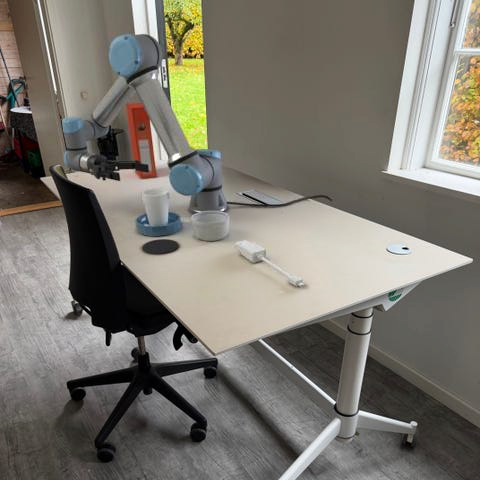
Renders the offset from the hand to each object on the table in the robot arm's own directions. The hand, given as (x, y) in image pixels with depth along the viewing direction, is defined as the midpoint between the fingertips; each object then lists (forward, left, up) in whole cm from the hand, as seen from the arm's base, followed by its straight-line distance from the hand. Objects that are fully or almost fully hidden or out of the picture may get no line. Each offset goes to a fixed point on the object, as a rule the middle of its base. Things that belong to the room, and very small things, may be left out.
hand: (133, 172), depth 166 cm
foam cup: (-7, +6, -19) cm, 21 cm away
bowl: (-7, +6, -19) cm, 21 cm away
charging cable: (-43, +42, -19) cm, 64 cm away
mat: (-9, +24, -19) cm, 32 cm away
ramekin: (-26, +15, -19) cm, 36 cm away
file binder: (+7, -73, -19) cm, 76 cm away
